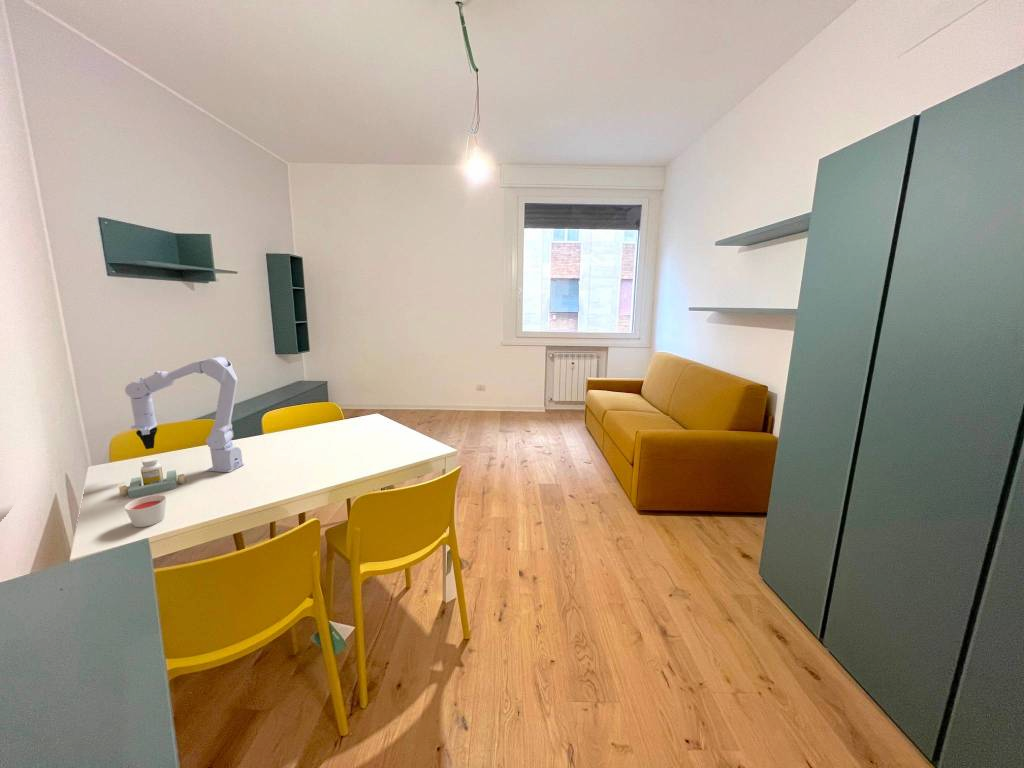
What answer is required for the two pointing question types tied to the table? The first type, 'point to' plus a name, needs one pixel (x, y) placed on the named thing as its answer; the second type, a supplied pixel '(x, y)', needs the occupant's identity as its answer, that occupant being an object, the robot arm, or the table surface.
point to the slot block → (151, 485)
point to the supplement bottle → (151, 471)
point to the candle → (146, 510)
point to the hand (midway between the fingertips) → (150, 448)
